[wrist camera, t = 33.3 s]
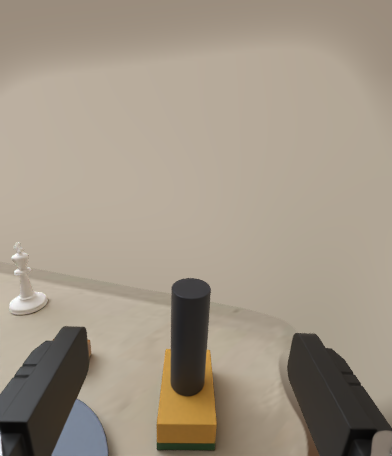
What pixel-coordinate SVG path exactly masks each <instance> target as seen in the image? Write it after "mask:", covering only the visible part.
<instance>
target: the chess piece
mask: <svg viewBox="0 0 392 456" xmlns="http://www.w3.org/2000/svg"><path fill="white" fill-rule="evenodd" d="M15 244H16V246H14V249H15V250H17V254H15V255H13V256H12V260H13V262H14V263H15V264H16V266H17V268H18V269H16V270H15V271H14V274H15V275H18V276H20V295H19V296H18V297H16V298H15V299H13V300H12V301H11V302H10V304H9V311H10V312H11V313H12V314H16V315H24V314H29V313H33V312H36V311H38V310H40V309H41V308H43V307H44V306H45V305H46V304H47V302H48V299H47V297H46V295H45V294H44V293H41V292H35V291H33V289H32V286H31V284H30V281H29V277H28V273H30V272H31V271H32V270H31V268H30V267H26V266H27V260H28V256H29V255H28V254H27V253H22V251H24V248H22V247H21V244H20V242H17V243H15Z"/></svg>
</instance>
